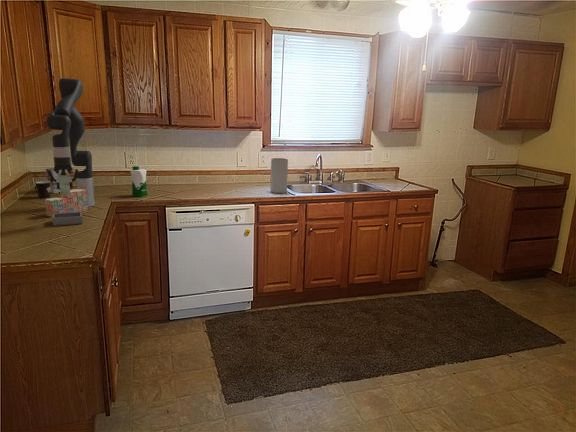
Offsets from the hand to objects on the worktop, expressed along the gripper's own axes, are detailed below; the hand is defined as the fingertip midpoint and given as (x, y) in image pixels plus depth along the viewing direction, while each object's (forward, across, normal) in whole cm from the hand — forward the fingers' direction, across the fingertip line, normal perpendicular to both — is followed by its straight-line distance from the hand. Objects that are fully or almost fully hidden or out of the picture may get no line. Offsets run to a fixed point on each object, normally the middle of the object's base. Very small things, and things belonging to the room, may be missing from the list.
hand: (65, 189), depth 218 cm
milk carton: (+18, -44, -60) cm, 76 cm away
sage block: (+2, 0, 0) cm, 2 cm away
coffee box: (+18, +8, -88) cm, 91 cm away
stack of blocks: (+18, 0, -23) cm, 29 cm away
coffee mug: (+18, +15, -70) cm, 74 cm away
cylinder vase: (+18, -143, -46) cm, 151 cm away
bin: (+18, 0, 0) cm, 18 cm away
